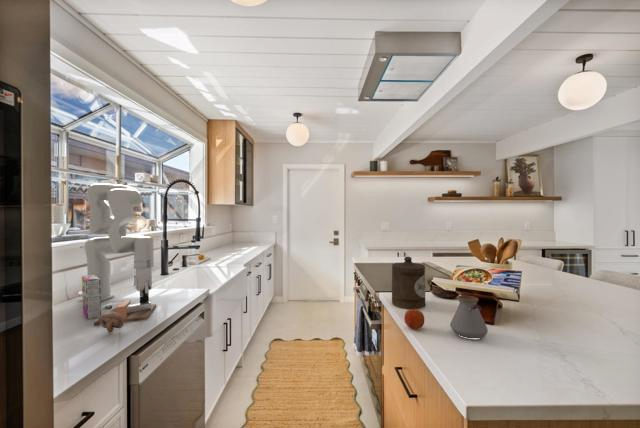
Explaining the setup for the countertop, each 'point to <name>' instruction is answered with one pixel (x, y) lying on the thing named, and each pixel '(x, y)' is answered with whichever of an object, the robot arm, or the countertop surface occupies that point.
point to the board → (136, 315)
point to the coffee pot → (468, 318)
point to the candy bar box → (91, 296)
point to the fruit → (414, 319)
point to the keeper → (123, 308)
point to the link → (128, 308)
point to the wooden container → (408, 284)
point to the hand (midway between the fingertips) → (144, 305)
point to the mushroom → (111, 321)
